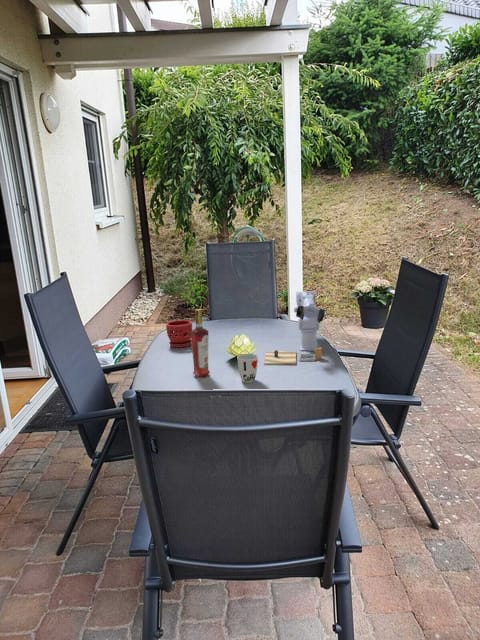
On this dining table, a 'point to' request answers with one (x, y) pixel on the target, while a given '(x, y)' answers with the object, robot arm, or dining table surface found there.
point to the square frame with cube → (312, 355)
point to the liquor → (200, 347)
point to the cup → (247, 367)
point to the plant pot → (179, 333)
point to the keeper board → (280, 358)
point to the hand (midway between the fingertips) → (311, 319)
